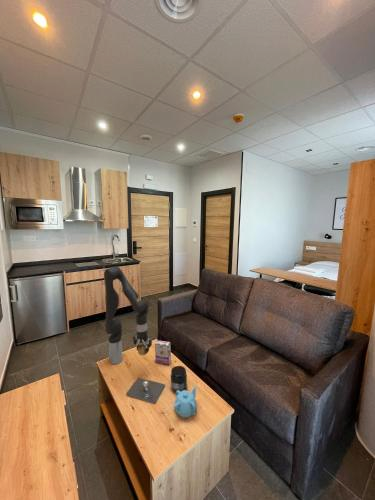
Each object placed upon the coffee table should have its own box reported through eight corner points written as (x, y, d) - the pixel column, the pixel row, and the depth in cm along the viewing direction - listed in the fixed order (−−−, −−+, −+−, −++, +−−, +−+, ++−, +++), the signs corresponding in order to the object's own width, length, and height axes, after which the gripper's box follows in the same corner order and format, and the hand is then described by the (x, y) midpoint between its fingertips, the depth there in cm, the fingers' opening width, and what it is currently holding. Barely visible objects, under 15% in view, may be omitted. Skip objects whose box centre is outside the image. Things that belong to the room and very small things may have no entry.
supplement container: (183, 379, 143) (183, 363, 141) (189, 390, 133) (189, 373, 132) (168, 383, 139) (168, 367, 138) (173, 396, 130) (173, 378, 128)
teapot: (172, 420, 114) (172, 403, 112) (176, 397, 128) (176, 382, 126) (195, 422, 113) (195, 405, 111) (197, 399, 127) (197, 383, 125)
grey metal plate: (126, 395, 131) (125, 386, 130) (138, 379, 144) (137, 370, 143) (155, 404, 124) (154, 394, 123) (165, 386, 137) (164, 377, 136)
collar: (136, 354, 145) (136, 348, 144) (141, 348, 151) (141, 342, 150) (144, 355, 143) (144, 349, 142) (149, 350, 149) (149, 344, 148)
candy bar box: (171, 361, 161) (170, 341, 159) (168, 365, 156) (168, 345, 154) (158, 359, 165) (157, 339, 162) (155, 363, 160) (154, 343, 157)
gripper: (129, 329, 143) (131, 352, 145) (148, 333, 138) (149, 356, 141) (135, 324, 150) (137, 346, 152) (153, 327, 145) (154, 349, 148)
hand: (143, 350), depth 147 cm, fingers closed on collar, 6 cm apart
